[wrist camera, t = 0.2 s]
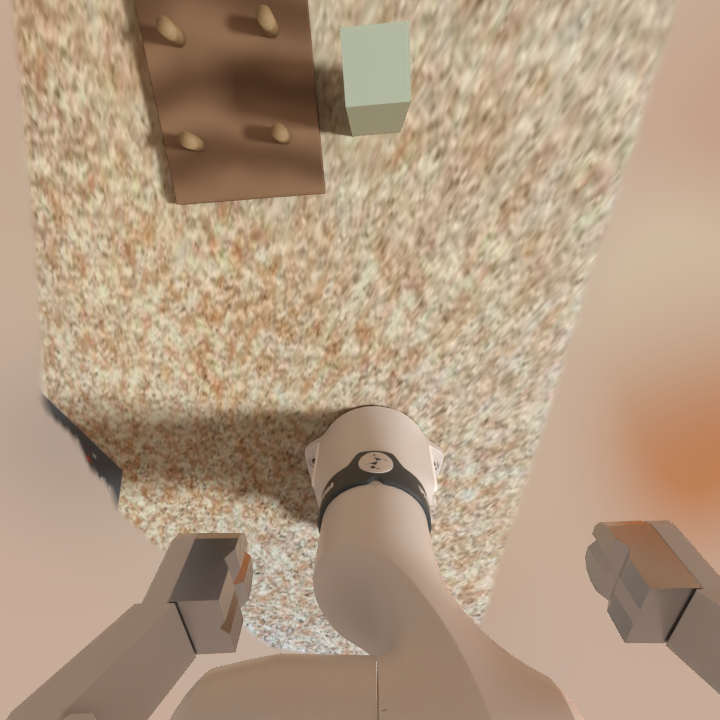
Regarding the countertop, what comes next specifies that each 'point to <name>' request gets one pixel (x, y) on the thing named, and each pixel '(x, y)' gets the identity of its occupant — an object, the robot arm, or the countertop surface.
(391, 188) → the countertop surface
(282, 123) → the nest board
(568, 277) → the countertop surface
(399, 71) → the block
